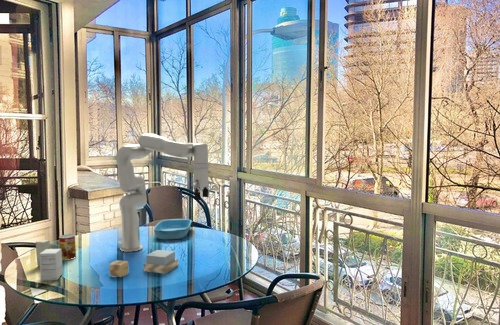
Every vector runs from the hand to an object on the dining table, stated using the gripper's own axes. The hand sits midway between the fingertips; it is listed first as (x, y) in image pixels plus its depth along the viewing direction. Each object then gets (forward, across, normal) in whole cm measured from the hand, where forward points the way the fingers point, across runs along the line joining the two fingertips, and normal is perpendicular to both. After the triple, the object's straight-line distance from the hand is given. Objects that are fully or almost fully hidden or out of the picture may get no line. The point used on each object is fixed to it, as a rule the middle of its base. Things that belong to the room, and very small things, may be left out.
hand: (201, 198), depth 213 cm
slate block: (+28, +24, -11) cm, 38 cm away
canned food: (+32, +24, -68) cm, 79 cm away
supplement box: (+32, +50, -53) cm, 79 cm away
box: (+31, +38, -70) cm, 86 cm away
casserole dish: (+32, -38, -39) cm, 63 cm away
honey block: (+31, +38, -25) cm, 55 cm away
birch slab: (+32, +24, -11) cm, 41 cm away
